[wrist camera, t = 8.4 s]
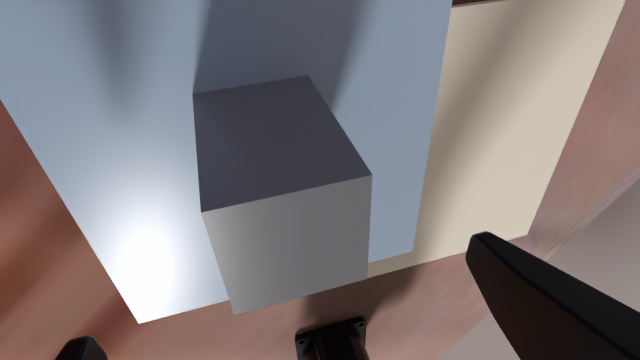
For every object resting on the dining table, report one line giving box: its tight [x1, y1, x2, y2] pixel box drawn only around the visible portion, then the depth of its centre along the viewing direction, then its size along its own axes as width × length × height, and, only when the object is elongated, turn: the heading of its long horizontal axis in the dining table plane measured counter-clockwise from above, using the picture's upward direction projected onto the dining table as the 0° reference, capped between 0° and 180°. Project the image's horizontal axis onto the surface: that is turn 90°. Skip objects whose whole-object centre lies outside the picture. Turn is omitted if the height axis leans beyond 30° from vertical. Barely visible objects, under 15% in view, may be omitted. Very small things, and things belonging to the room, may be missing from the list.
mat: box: [367, 0, 625, 278], centre depth 26 cm, size 20×16×1 cm
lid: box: [0, 0, 452, 324], centre depth 10 cm, size 14×11×5 cm
